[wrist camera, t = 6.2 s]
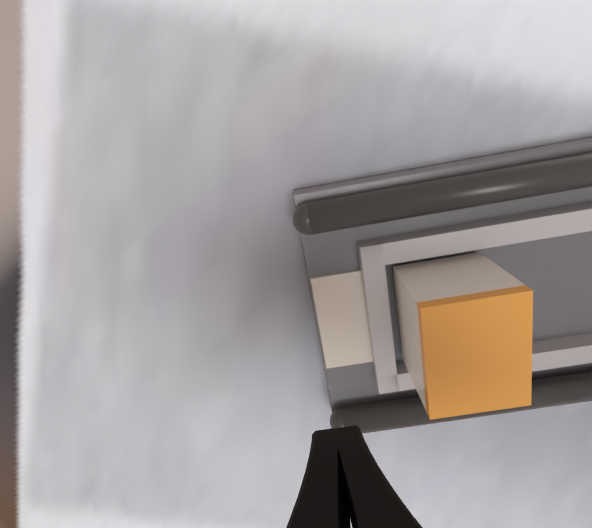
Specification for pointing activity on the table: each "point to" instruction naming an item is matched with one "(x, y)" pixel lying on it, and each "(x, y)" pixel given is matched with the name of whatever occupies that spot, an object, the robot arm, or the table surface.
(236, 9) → the table surface
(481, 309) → the orange-faced white block
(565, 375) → the panel
